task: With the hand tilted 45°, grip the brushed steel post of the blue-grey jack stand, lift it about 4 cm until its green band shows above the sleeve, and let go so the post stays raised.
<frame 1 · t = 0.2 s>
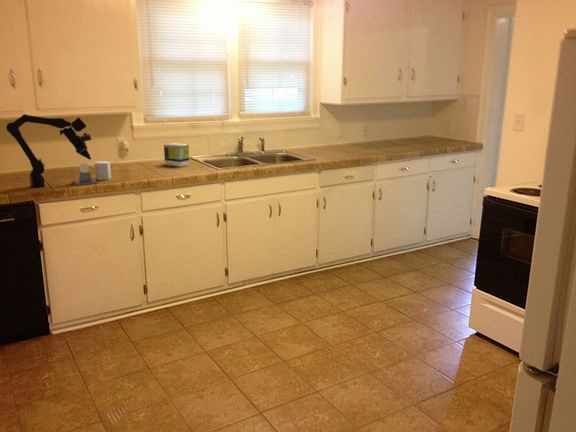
hand: (90, 158, 318), 15 cm above the worktop, tool tilted 35°, fingers open, 9 cm apart
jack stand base: (85, 182, 322), on the worktop
small box: (103, 179, 332), on the worktop
tea box: (177, 165, 378), on the worktop
jack post: (84, 171, 320), point 6 cm above the worktop, slide at 0.0 cm
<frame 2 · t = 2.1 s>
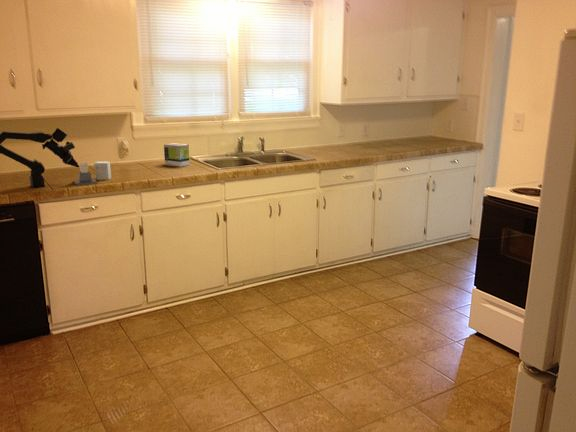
hand: (78, 165, 318), 11 cm above the worktop, tool tilted 45°, fingers open, 9 cm apart
nothing on the worktop moved.
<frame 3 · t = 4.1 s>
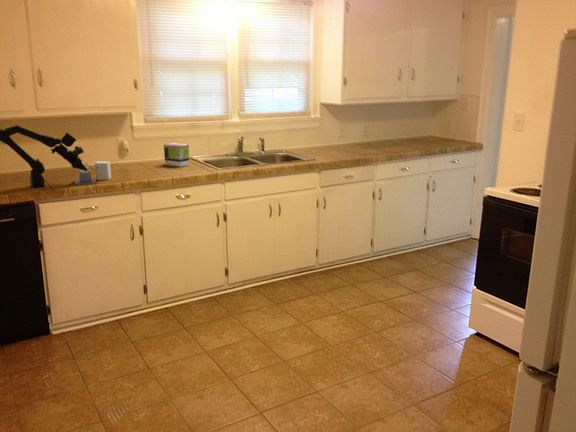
hand: (86, 169, 320), 8 cm above the worktop, tool tilted 45°, fingers closed on jack post, 4 cm apart
jack post: (84, 171, 320), point 6 cm above the worktop, slide at 0.0 cm, touching gripper
everything else where it was.
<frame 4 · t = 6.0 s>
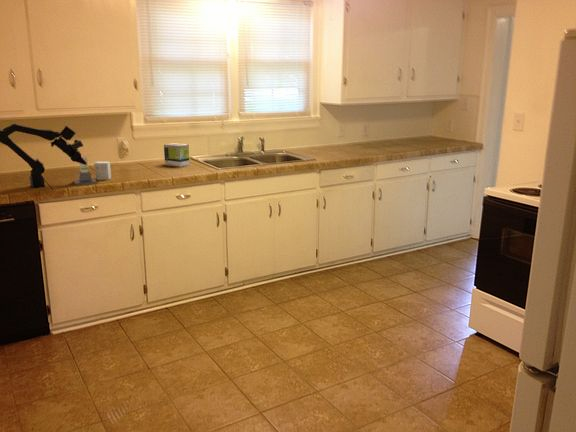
hand: (86, 163, 319), 11 cm above the worktop, tool tilted 45°, fingers closed on jack post, 4 cm apart
jack post: (83, 165, 319), point 10 cm above the worktop, slide at 3.8 cm, touching gripper
everything else where it was.
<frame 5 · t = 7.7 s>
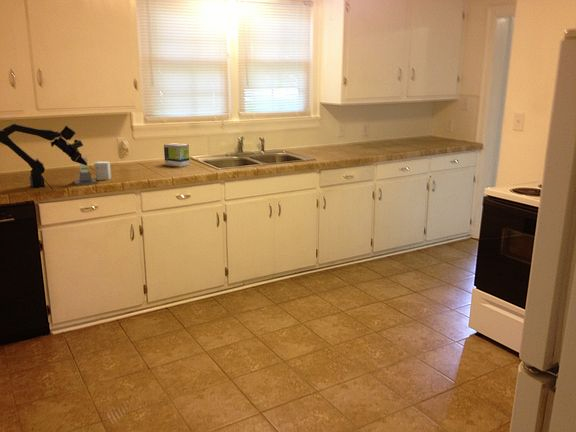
hand: (86, 163, 319), 12 cm above the worktop, tool tilted 45°, fingers open, 9 cm apart
jack post: (83, 165, 319), point 10 cm above the worktop, slide at 3.8 cm
everything else where it was.
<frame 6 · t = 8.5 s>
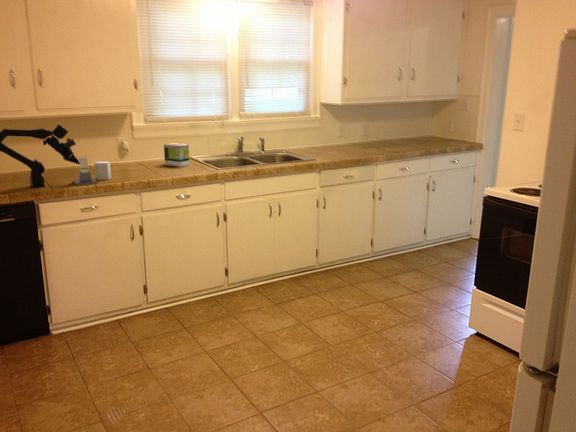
hand: (78, 162, 317), 12 cm above the worktop, tool tilted 45°, fingers open, 9 cm apart
nothing on the worktop moved.
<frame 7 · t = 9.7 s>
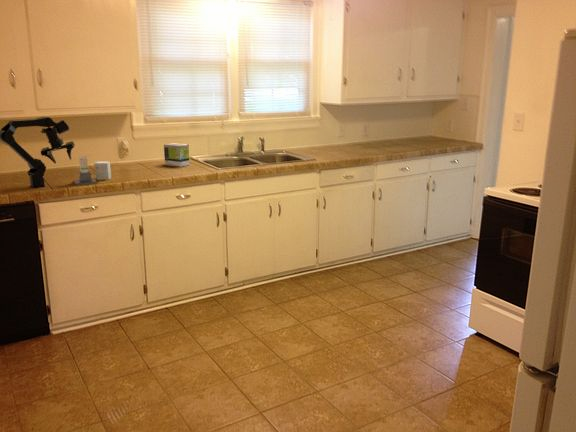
hand: (63, 161, 320), 12 cm above the worktop, tool tilted 20°, fingers open, 9 cm apart
nothing on the worktop moved.
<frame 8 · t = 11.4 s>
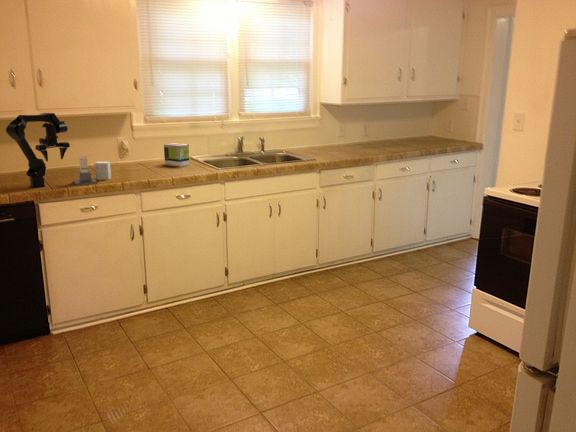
hand: (54, 160, 320), 13 cm above the worktop, tool pointing down, fingers open, 9 cm apart
nothing on the worktop moved.
at the end: jack post slide at 3.8 cm; the gripper is holding nothing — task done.
